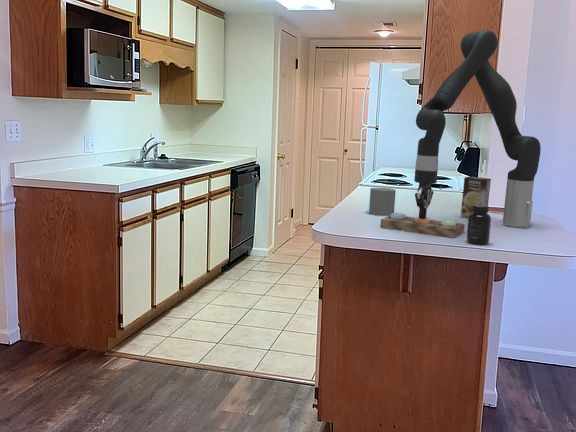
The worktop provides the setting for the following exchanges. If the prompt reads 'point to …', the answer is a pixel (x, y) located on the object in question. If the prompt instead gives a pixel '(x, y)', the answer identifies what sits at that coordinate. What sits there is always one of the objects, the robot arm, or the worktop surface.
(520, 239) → the worktop surface
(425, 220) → the terracotta button
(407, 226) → the button panel
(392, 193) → the coffee mug
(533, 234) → the worktop surface
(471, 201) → the coffee box
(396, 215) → the slate button
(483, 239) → the supplement bottle
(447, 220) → the sage button
